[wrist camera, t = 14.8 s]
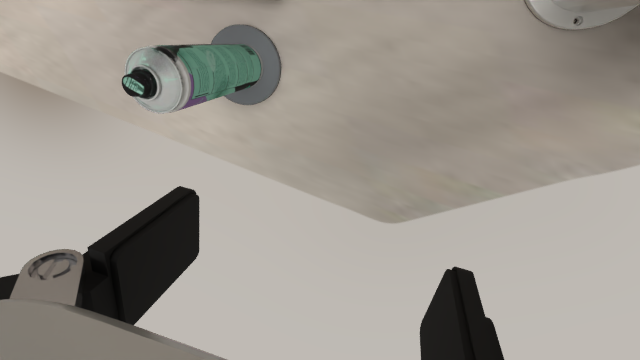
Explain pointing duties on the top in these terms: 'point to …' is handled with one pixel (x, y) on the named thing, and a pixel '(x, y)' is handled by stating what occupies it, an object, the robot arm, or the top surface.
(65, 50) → the top surface
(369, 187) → the top surface
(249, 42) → the mat
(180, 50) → the spray can
